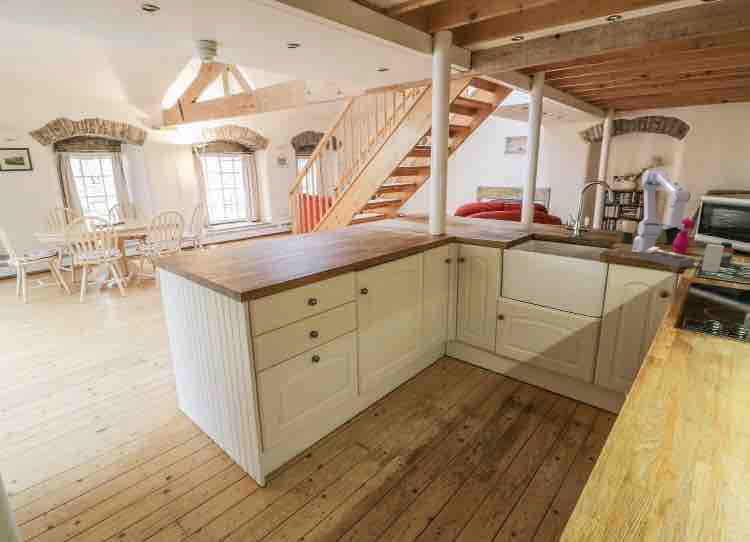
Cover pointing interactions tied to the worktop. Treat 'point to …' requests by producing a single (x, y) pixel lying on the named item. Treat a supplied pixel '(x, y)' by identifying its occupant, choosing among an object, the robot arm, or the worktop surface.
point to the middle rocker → (663, 251)
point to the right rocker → (675, 254)
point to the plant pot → (662, 237)
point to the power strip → (667, 259)
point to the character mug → (628, 230)
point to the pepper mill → (683, 237)
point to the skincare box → (712, 258)
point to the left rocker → (652, 249)
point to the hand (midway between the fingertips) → (669, 242)
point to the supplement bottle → (726, 254)
